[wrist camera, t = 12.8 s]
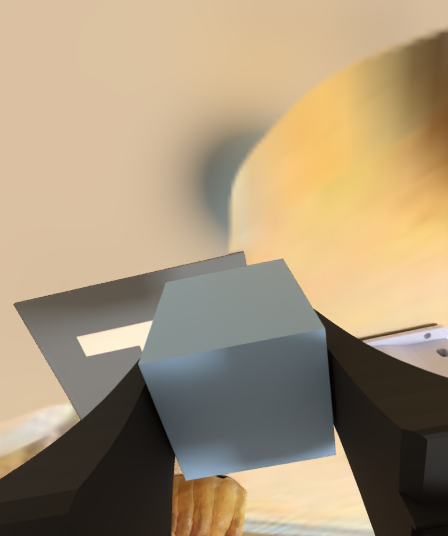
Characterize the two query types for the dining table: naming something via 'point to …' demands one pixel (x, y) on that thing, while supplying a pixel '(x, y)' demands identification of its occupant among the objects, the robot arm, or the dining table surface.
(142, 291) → the board
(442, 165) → the dining table surface
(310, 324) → the blue cube
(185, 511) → the pastry
